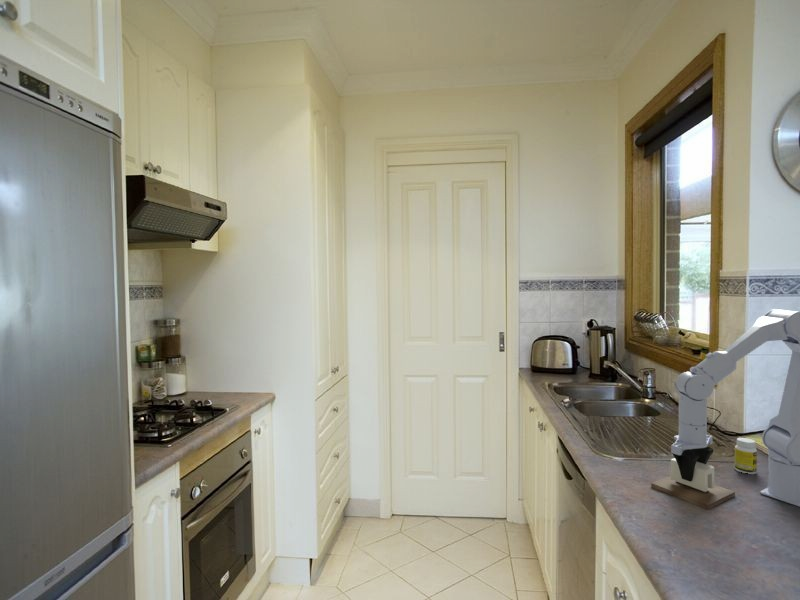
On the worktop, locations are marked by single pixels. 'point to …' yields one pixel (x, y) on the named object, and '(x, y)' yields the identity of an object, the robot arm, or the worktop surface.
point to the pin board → (693, 492)
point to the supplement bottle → (746, 456)
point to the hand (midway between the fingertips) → (692, 477)
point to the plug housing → (695, 476)
